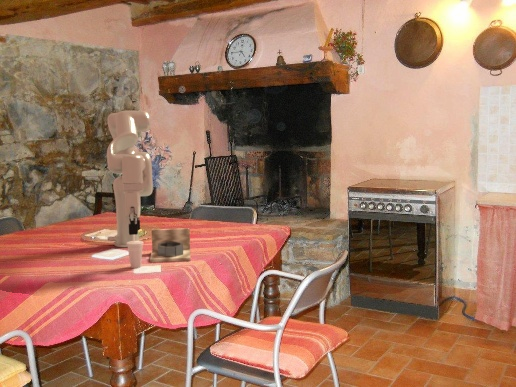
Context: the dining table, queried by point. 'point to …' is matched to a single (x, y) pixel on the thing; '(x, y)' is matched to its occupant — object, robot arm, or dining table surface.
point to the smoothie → (135, 252)
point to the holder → (170, 245)
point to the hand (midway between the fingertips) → (134, 232)
